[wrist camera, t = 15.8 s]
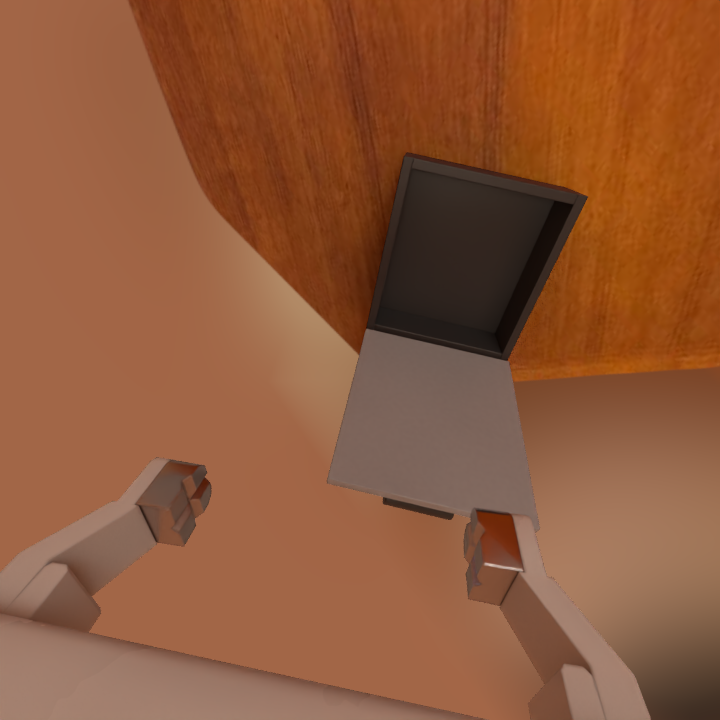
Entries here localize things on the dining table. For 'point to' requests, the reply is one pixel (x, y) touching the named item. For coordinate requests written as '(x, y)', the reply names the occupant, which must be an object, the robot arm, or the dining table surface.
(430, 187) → the dark grey square tray
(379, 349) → the grey box lid
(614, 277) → the dining table surface
